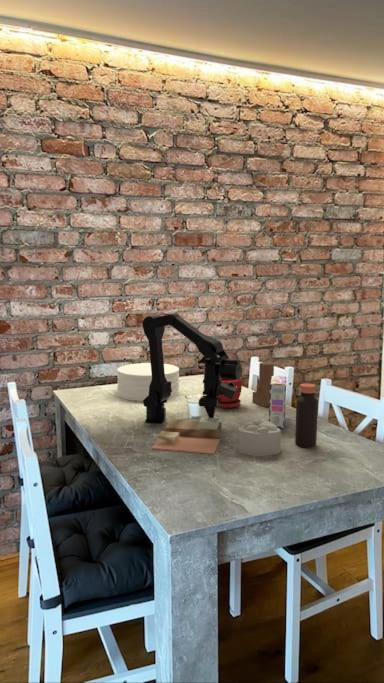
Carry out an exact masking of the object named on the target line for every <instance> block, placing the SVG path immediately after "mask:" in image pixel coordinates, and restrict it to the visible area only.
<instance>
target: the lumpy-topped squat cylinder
mask: <svg viewBox="0 0 384 683" xmlns="http://www.w3.org/2000/svg"><path fill="white" fill-rule="evenodd" d="M237 431H238V432H237V451H238V452H239V453H240V454H243V455H247V456H254V457H255V456H256V457H261V456H262V457H265V456H273V455H278V454H280V453H281V440H282V435H281V434H282V432H281V431H282V430H281V428H277V427H276V425H275V424H272V423H271V422H269V421H263V422H261V421H260V420H259V419H253V420H252V421H250V422H245V423H244V424H243V425H241V426H239V427H238V429H237Z"/></svg>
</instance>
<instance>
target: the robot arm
mask: <svg viewBox="0 0 384 683" xmlns="http://www.w3.org/2000/svg"><path fill="white" fill-rule="evenodd" d="M141 325H142V330H143V334H144V336H145V337H146V339H147V340H148V347H149V348H148V349H149V359H150V362H149V363H151V373H152V380H151V383H150V386H149V395H148V396H147V397H146V398H145V399H144V400H143V401H142V403H143V407H145V409H146V410H145V412H146V414H145V415H146V417H145V418H146V419H145V420H144V423H155V424H162V423H163V422H165V420H166V419H167V408H166V407H165V404H167V403H168V402H167V401H168V400H169V399H168V398H169V397H170V396H171V392H172V389H171V381H169V382H168V381H167V380H166V378H165V372H164V364H165V363H164V350H163V336H164V334H165V329H166V327H167V326H171V327H172V328H173V329H175V330H176V331H177V332H179V333H180V334H182V336H184V337H185V338H187V340H189V341H190V342H192V343H193V344H194V345H195V347H196V349H197V350H198V352H200V354H201V355H202V357H201V358H200V359H199V360H198V361H197V362H198V364H203V380H202V384H203V391H202V396H201V397H200V398H199V399H198V406H199V407H204V410H205V412H206V413H207V416H208V418H215V413H216V408H217V407H218V404H219V403H220V401H221V398H218V397H217V396H220V394H221V395H223V396H226V397H228V398H229V399H233V397H234V395H235V392H236V390H237V389H236V387H237V386H236V387H234V383H233V382H229V383H228V384H224V383H222V379H221V378H220V376H222V378H228V379H236V380H239V379H240V378H242V375H243V366H242V364H241V359H239V358H237V359H232V358H231V359H230V357H229V356H228V354H227V352H226V351H225V349H224V346H223V343H222V341H220V340H218V339H216V338H214V337H212V336H209V335H207V334H204V333H203V332H201V331H200V330H199V329H197V328H196V327H195V326H193V325H192V324H190V323H189V322H188V321H187V320H186V319H184V318H183V317H181V315H180V314H178V313H177V312H176V313H175V312H174V313H169V314H166V315H159V314H155V315H149V316H146V317H144V319H143V320H142V324H141Z"/></svg>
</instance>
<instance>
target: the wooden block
mask: <svg viewBox="0 0 384 683" xmlns="http://www.w3.org/2000/svg"><path fill="white" fill-rule="evenodd" d="M258 367H259V370H258V372H259V373H258V374H259V375H258V389H257V391H252V400H251V402H252V403H254V404H256V405H259V406H261V407H263V408H266V407H267V408H268V407H269V401H270V383H271V378H272V376H275V375H274V374H275V372H274V371H275V364H274V363H272V362H268V361H267V362H259V366H258Z"/></svg>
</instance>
